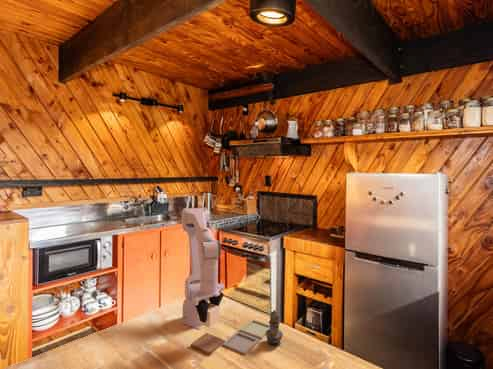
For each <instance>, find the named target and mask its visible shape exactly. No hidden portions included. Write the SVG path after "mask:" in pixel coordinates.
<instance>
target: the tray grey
mask: <svg viewBox="0 0 493 369" xmlns="http://www.w3.org/2000/svg"><path fill="white" fill-rule="evenodd" d="M260 340H261V339H260V338H257V337H254V336H251V335H249V334H246V333H243V332H241V331H240V330H239V331H235V333H234V334H232V335H231V336H230V337H229V338H228V339H226V340H225V342H224V343H223V344H222V347H224V348H226V349H229V350H231V351H234V352H237V353H239V354H241V355H242V356H243V355H244V356H247V355H248V354H249V353H250V352H251V351H252V350H253V349H254V348H255V347H256V345H257V344H259V342H260Z"/></svg>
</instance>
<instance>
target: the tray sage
mask: <svg viewBox="0 0 493 369" xmlns="http://www.w3.org/2000/svg"><path fill="white" fill-rule="evenodd" d="M269 329H270V324H269V323H267V322H264V321H260V320H258V319H255V318H251V319H250V320H249V321H248V322H247V323H245V324H244V325H243V326H242V327H241V328H239V332H241V333H244V334H247V335H249V336H252V337H255V338H257V339H260V340H263V339H264V338H265V337H266V334H265V332H266V331H267V330H269Z"/></svg>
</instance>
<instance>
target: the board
mask: <svg viewBox="0 0 493 369" xmlns="http://www.w3.org/2000/svg"><path fill="white" fill-rule="evenodd" d="M225 341H226V340H225V339H223V338H222V337H218V336H216V335H214V334H210V333H208V332H206V333H204V334H202V335H201V336H200V337H198V338H197V339H196V340H194V341H193V342H192V343H191V344H190V347H191V349H194V350H196V351H199V352H201V353H203V354H206V355H207V356H211V355H212V354H213V353H214V352H215V351H216V350H218V348H220V347H221V346H223V343H224V342H225Z"/></svg>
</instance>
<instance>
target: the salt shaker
mask: <svg viewBox="0 0 493 369" xmlns="http://www.w3.org/2000/svg"><path fill="white" fill-rule="evenodd" d="M269 315H270V316H269V322H268V324H270V329H269V330H267V331H266V332H265V334H266V335H265V337H266V339H267V341H266V344H267V345H268V346H269V347H272V348H278V347H280V346H281V340H282V337H283V331H281V330H280V326H279V325H280V324H281V323H280V315H279V312H278V311H276V309H273V311H271V312H270V314H269Z"/></svg>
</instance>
